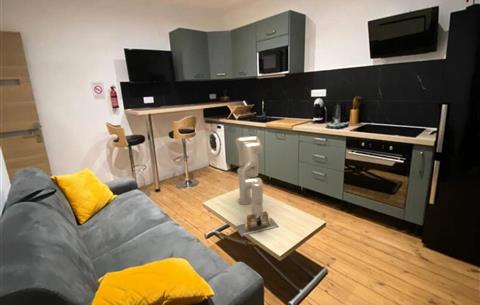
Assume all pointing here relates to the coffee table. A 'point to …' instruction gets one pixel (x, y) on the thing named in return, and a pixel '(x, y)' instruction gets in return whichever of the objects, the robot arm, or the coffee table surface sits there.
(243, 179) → the robot arm
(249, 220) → the wooden block
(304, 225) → the coffee table surface
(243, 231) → the board
